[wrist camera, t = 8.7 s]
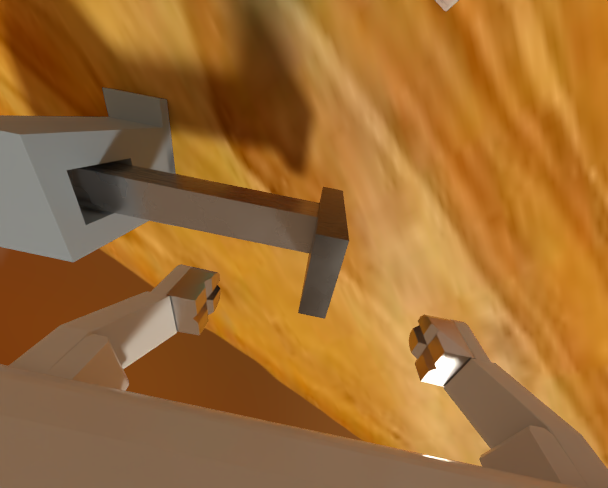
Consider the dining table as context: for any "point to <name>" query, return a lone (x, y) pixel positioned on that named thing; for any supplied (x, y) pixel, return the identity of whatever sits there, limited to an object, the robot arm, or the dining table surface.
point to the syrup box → (446, 4)
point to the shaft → (228, 216)
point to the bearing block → (70, 155)
